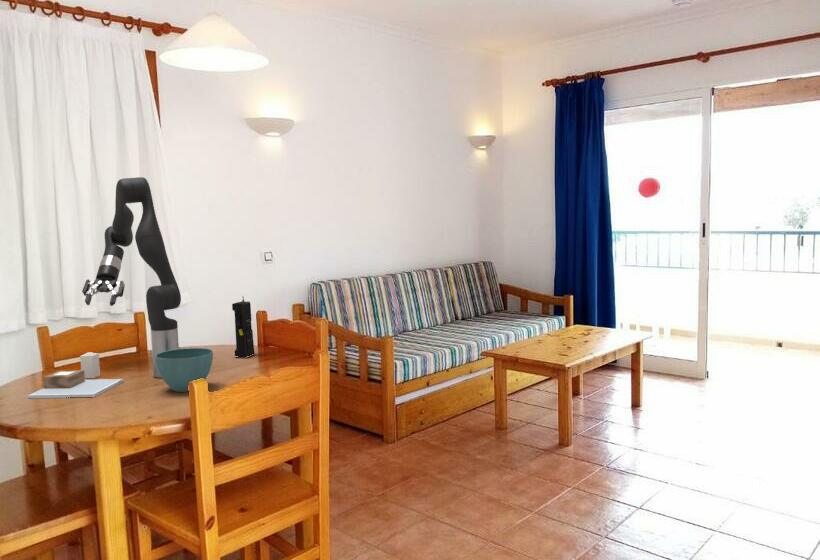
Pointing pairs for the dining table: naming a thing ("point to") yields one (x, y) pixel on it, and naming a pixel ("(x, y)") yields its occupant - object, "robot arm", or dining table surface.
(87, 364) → the block
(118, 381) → the build board
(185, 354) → the teal bowl
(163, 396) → the dining table surface
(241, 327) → the portable radio
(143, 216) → the robot arm
